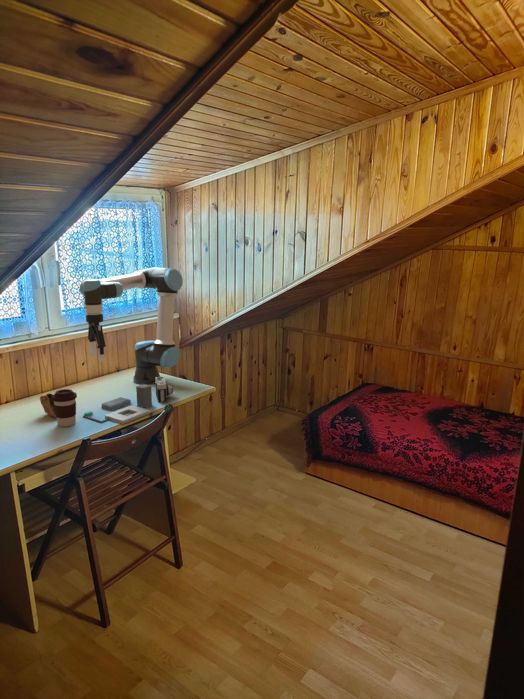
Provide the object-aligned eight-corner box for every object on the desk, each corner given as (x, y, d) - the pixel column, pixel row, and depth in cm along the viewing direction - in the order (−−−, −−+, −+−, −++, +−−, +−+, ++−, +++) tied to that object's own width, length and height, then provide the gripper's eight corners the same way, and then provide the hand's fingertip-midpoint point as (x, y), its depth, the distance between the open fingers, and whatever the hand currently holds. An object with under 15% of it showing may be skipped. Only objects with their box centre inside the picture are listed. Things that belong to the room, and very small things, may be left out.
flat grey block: (120, 401, 233) (120, 396, 233) (130, 404, 230) (130, 399, 229) (101, 408, 223) (101, 403, 223) (111, 411, 220) (111, 406, 219)
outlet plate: (132, 408, 223) (132, 405, 223) (150, 413, 217) (149, 410, 217) (105, 418, 210) (104, 415, 210) (123, 424, 204) (122, 420, 204)
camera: (174, 401, 233) (173, 382, 231) (157, 403, 231) (157, 384, 229) (171, 393, 246) (170, 375, 244) (155, 394, 244) (154, 376, 242)
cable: (90, 413, 216) (90, 410, 215) (109, 419, 209) (109, 416, 208) (82, 416, 212) (81, 413, 211) (101, 423, 205) (101, 420, 204)
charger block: (144, 403, 231) (143, 383, 228) (152, 405, 228) (151, 385, 226) (137, 406, 227) (136, 386, 224) (144, 408, 224) (143, 387, 222)
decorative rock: (39, 415, 213) (37, 392, 211) (51, 411, 218) (49, 389, 216) (58, 419, 208) (56, 397, 205) (69, 415, 213) (67, 393, 211)
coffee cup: (79, 418, 209) (76, 387, 206) (78, 426, 200) (76, 393, 197) (55, 421, 206) (52, 389, 203) (53, 429, 197) (50, 396, 194)
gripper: (78, 310, 222) (82, 353, 227) (93, 318, 202) (97, 365, 207) (94, 309, 226) (98, 351, 231) (110, 316, 206) (113, 362, 211)
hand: (97, 358), depth 219 cm, fingers open, 13 cm apart
